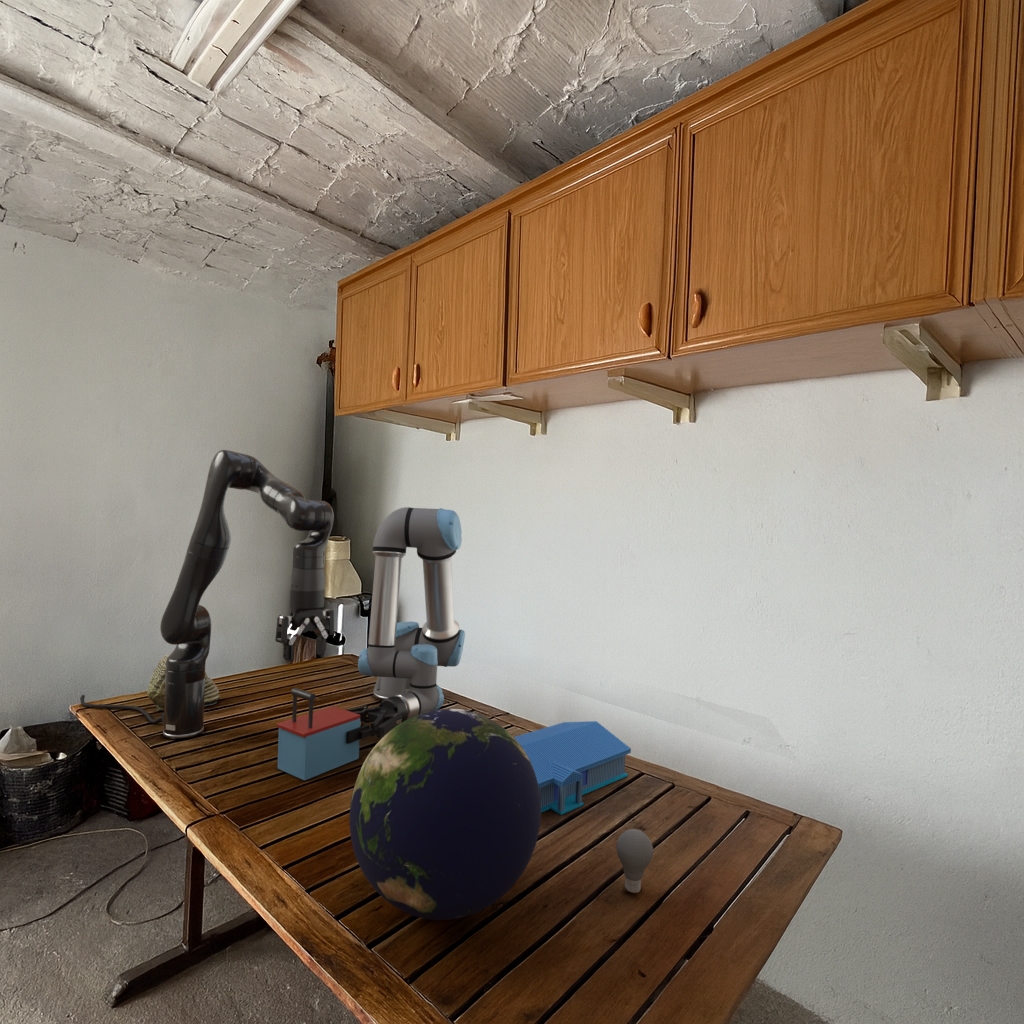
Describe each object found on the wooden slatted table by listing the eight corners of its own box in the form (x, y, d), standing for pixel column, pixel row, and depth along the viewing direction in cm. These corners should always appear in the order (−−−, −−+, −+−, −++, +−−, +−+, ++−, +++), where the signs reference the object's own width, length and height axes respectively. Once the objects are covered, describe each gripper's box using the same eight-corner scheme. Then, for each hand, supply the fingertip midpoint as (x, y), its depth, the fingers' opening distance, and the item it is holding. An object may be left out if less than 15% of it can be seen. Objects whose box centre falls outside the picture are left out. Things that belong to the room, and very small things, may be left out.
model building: (516, 834, 122) (519, 783, 122) (441, 787, 140) (443, 743, 140) (639, 780, 148) (641, 738, 148) (562, 747, 166) (564, 709, 166)
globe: (303, 931, 92) (311, 727, 92) (410, 834, 120) (417, 677, 120) (490, 1000, 81) (500, 768, 81) (561, 876, 109) (569, 702, 108)
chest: (304, 780, 141) (306, 736, 141) (277, 768, 146) (278, 726, 146) (358, 758, 154) (360, 718, 154) (331, 748, 159) (333, 709, 159)
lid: (303, 737, 140) (305, 698, 140) (276, 726, 146) (277, 689, 146) (360, 718, 154) (361, 682, 153) (333, 709, 159) (334, 674, 159)
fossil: (144, 707, 182) (145, 655, 182) (212, 696, 194) (213, 647, 194) (151, 716, 175) (153, 662, 175) (221, 703, 188) (223, 653, 188)
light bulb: (610, 879, 108) (613, 822, 108) (644, 879, 109) (647, 822, 109) (619, 902, 102) (622, 840, 102) (655, 901, 103) (658, 840, 103)
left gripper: (291, 592, 137) (288, 666, 137) (343, 586, 149) (340, 655, 149) (270, 588, 141) (267, 660, 142) (322, 582, 153) (319, 649, 153)
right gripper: (428, 733, 165) (364, 760, 147) (368, 713, 178) (302, 736, 159) (430, 704, 165) (365, 728, 147) (369, 687, 178) (303, 706, 159)
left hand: (304, 657), depth 145 cm, fingers open, 8 cm apart
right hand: (332, 732), depth 153 cm, fingers closed on chest, 10 cm apart
